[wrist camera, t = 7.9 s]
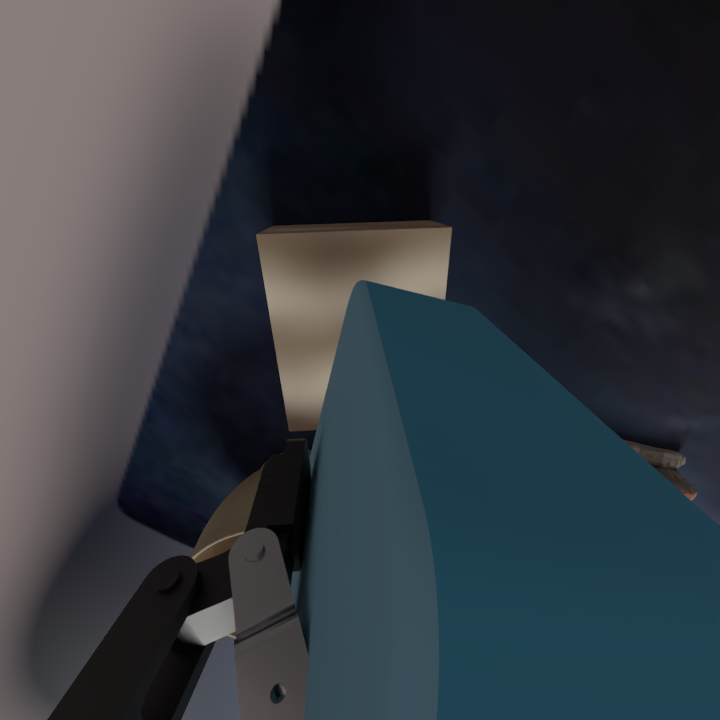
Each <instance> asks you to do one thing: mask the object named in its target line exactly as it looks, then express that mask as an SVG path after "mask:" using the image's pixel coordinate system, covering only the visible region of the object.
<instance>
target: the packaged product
mask: <svg viewBox="0 0 720 720" xmlns="http://www.w3.org/2000/svg"><path fill="white" fill-rule="evenodd" d="M624 441H625V442H626V443H627V444H628V445H629V446H630V447H632V448H633V449H634V450H635V451H636V452H637V453H638V454H639V455H641V456H642V457H643V458H644V459H645V460H646V461H647V462H648V463H649V464H651V465H652V466H653V467H654V468H655V469H656V470H657V471H658V472H660V473H661V474H662V475H663V476H664V477H665V478H666V479H667V480H669V481H670V482H671V483H672V484H673V485H674V486H675V487H676V488H678V489H679V490H680V491H681V492H682V493H683V494H684V495H685V496H687V497H688V498H689V499H690V500H693V499H694V498H695V496H696V495H697V491H696V490H695V489H694V488H693V486H692V484H690V483H688V482H687V481H686V479H685V478H684V477H683V476H682V475H681V474H680V473H679V472H678V471H677V470H676V469H677V468H678V467H679V466H681V465H683V464H685V461H686V457H684V456H683V455H681V454H680V453H678V452H677V451H672V450H667V449H662V448H656V447H652V446H648V445H644V444H640V443H636V442H632V441H627V440H624Z"/></svg>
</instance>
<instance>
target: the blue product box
mask: <svg viewBox="0 0 720 720" xmlns="http://www.w3.org/2000/svg"><path fill="white" fill-rule="evenodd" d="M309 459H310V466H311V484H310V493H309V503H308V512H307V521H306V530H305V539H304V549H303V558H302V567H301V571H298V572H293V574H292V582H291V591H292V595H293V599H294V603H295V607H296V610H297V613H298V617H299V621H300V625H301V628H302V632H303V636H304V640H305V644H306V648H307V652H308V656H309V659H308V672H307V686H306V700H305V713H304V720H720V526H719V525H718V524H717V523H716V522H715V521H713V520H712V519H711V518H710V517H709V516H708V515H707V514H706V513H704V512H703V511H702V510H701V509H700V508H699V507H698V506H697V505H695V504H694V503H693V502H692V501H691V500H690V499H689V498H688V497H687V496H685V495H684V494H683V493H682V492H681V491H680V490H679V489H678V488H676V487H675V486H674V485H673V484H672V483H671V482H670V481H669V480H667V479H666V478H665V477H664V476H663V475H662V474H661V473H660V472H658V471H657V470H656V469H655V468H654V467H653V466H652V465H651V464H649V463H648V462H647V461H646V460H645V459H644V458H643V457H642V456H641V455H639V454H638V453H637V452H636V451H635V450H634V449H633V448H632V447H630V446H629V445H628V444H627V443H626V442H625V441H624V440H623V439H621V438H620V437H619V436H618V435H617V434H616V433H615V432H614V431H612V430H611V429H610V428H609V427H608V426H607V425H606V424H605V423H604V422H602V421H601V420H600V419H599V418H598V417H597V416H596V415H595V414H593V413H592V412H591V411H590V410H589V409H588V408H587V407H586V406H584V405H583V404H582V403H581V402H580V401H579V400H578V399H577V398H575V397H574V396H573V395H572V394H571V393H570V392H569V391H568V390H567V389H565V388H564V387H563V386H562V385H561V384H560V383H559V382H558V381H556V380H555V379H554V378H553V377H552V376H551V375H550V374H549V373H547V372H546V371H545V370H544V369H543V368H542V367H541V366H540V365H538V364H537V363H536V362H535V361H534V360H533V359H532V358H531V357H529V356H528V355H527V354H526V353H525V352H524V351H523V350H522V349H521V348H519V347H518V346H517V345H516V344H515V343H514V342H513V341H512V340H510V339H509V338H508V337H507V336H506V335H505V334H504V333H503V332H501V331H500V330H499V329H498V328H497V327H496V326H495V325H494V324H492V323H491V322H490V321H489V320H488V319H487V318H486V317H485V316H484V315H482V314H481V313H480V312H479V311H478V310H477V309H475V308H474V307H471V306H468V305H463V304H459V303H455V302H451V301H447V300H443V299H439V298H435V297H431V296H427V295H423V294H419V293H415V292H411V291H407V290H403V289H399V288H395V287H391V286H387V285H383V284H378V283H374V282H370V281H366V280H360V281H358V282H357V283H356V284H355V286H354V287H353V290H352V292H351V295H350V298H349V302H348V305H347V309H346V313H345V317H344V321H343V325H342V329H341V333H340V337H339V341H338V345H337V349H336V353H335V357H334V362H333V366H332V370H331V374H330V378H329V382H328V386H327V390H326V394H325V398H324V402H323V406H322V410H321V414H320V418H319V422H318V426H317V430H316V434H315V438H314V442H313V446H312V450H311V454H310V458H309Z"/></svg>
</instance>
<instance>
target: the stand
mask: <svg viewBox="0 0 720 720" xmlns="http://www.w3.org/2000/svg"><path fill="white" fill-rule="evenodd" d="M451 233H452V227H449V226H446V225H443V224H440V223H437V222H434V221H431V220H422V221H394V222H366V223H338V224H309V225H281V226H272V227H270V228H268V229H266V230H264V231H262V232H260V233H258V234H256V237H257V243H258V249H259V255H260V261H261V267H262V273H263V279H264V285H265V291H266V297H267V303H268V309H269V315H270V321H271V327H272V333H273V339H274V345H275V351H276V357H277V363H278V369H279V375H280V381H281V387H282V393H283V398H284V404H285V410H286V416H287V422H288V428H289V431H307V430H317V426H318V422H319V418H320V414H321V410H322V406H323V402H324V398H325V394H326V390H327V386H328V382H329V378H330V374H331V370H332V366H333V362H334V357H335V353H336V349H337V345H338V341H339V337H340V333H341V329H342V325H343V321H344V317H345V313H346V309H347V305H348V302H349V298H350V295H351V292H352V290H353V287H354V286H355V284H356V283H357V282H358V281H360V280H366V281H370V282H374V283H378V284H383V285H387V286H391V287H395V288H399V289H403V290H407V291H411V292H415V293H419V294H423V295H427V296H431V297H435V298H439V299H443V300H445V295H446V285H447V274H448V264H449V254H450V243H451Z"/></svg>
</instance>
